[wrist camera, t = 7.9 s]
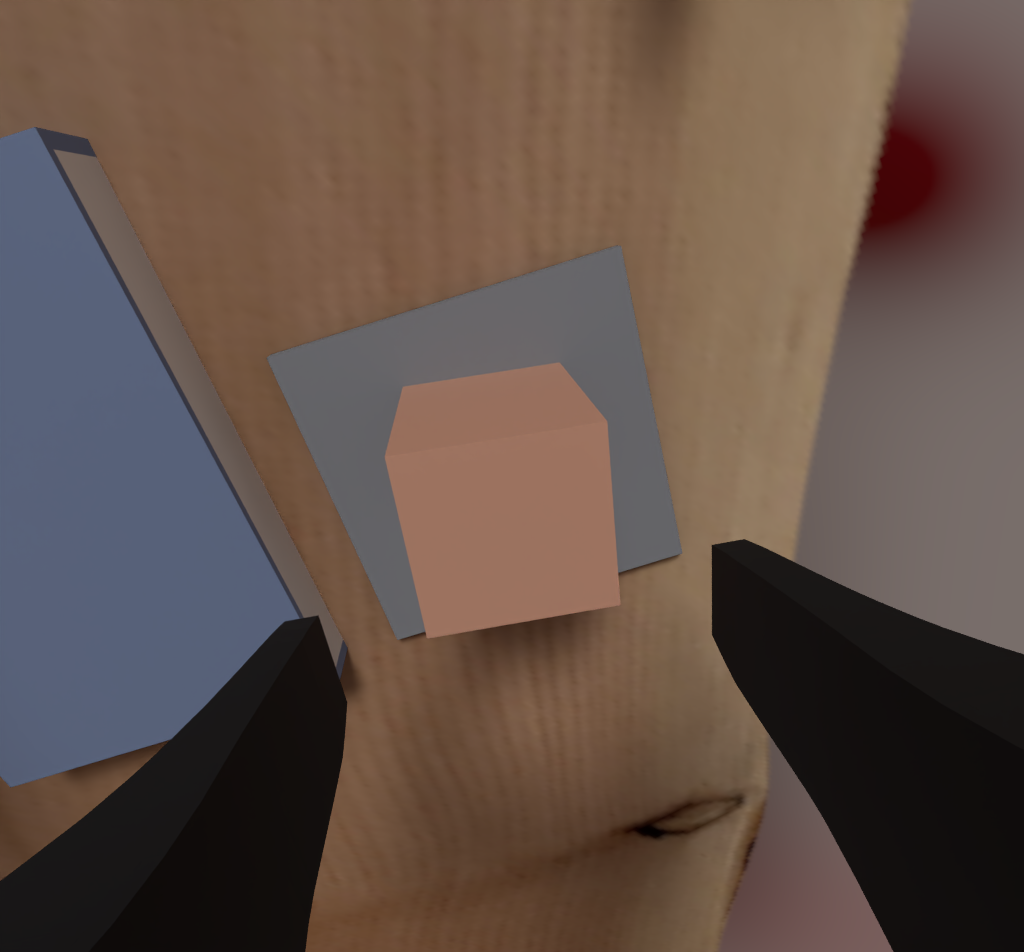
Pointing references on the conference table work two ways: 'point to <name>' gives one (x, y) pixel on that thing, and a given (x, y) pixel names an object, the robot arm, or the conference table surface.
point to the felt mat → (469, 352)
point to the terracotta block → (504, 499)
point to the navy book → (115, 487)
